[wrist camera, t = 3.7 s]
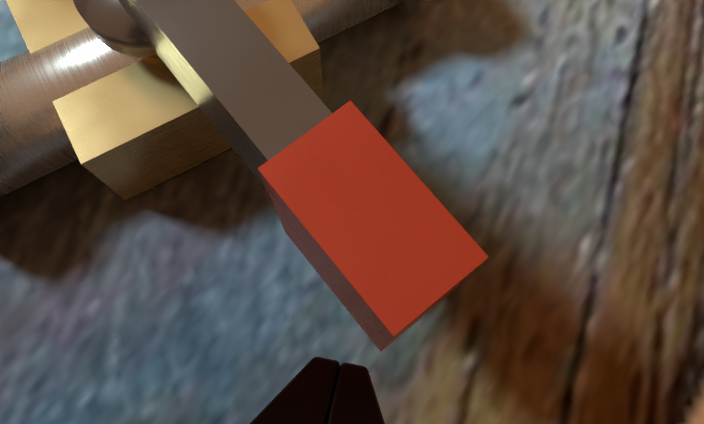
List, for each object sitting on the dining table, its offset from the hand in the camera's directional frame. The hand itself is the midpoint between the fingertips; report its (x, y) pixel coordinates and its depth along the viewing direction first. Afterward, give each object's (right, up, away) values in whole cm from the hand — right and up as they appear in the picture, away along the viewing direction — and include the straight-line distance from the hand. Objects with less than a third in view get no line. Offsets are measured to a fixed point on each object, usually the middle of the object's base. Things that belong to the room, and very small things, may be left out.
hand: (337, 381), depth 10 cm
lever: (-2, +5, +4) cm, 7 cm away
